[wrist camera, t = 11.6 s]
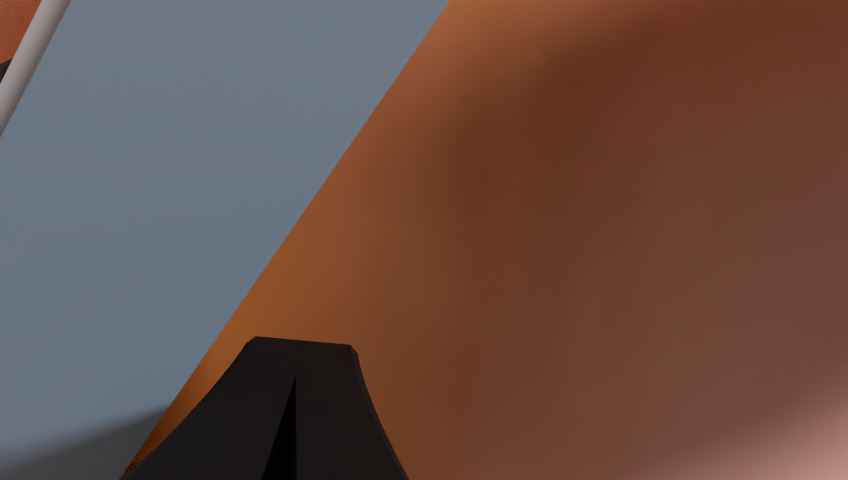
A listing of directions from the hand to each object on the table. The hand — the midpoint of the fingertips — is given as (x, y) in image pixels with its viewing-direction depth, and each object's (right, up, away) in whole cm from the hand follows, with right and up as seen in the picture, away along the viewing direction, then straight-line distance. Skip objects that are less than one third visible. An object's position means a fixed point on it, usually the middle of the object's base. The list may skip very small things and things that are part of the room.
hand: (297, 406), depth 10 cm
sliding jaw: (-3, +3, +3) cm, 5 cm away
